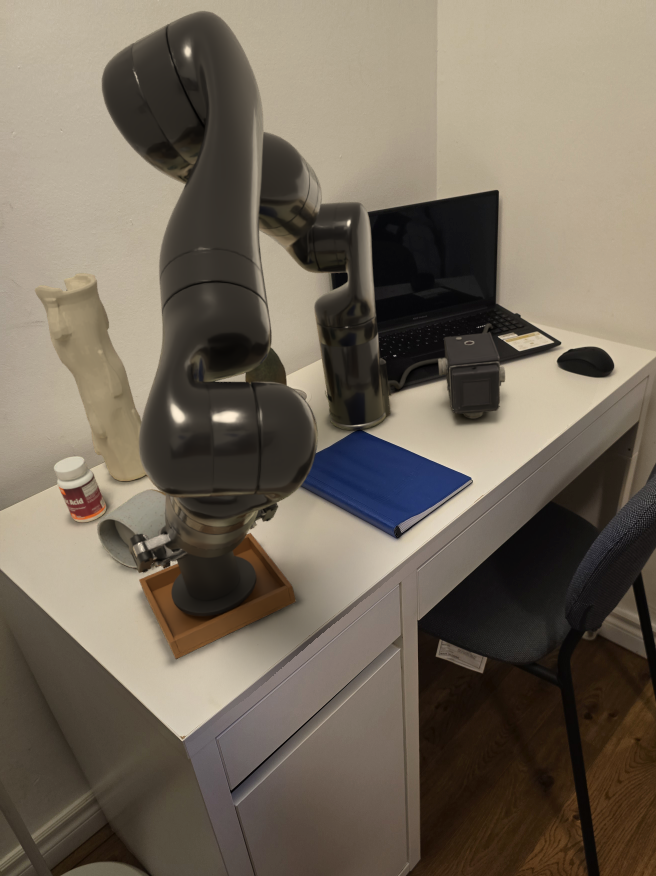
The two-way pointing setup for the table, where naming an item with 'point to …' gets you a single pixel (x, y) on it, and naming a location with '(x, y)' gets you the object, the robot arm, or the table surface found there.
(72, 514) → the pill bottle
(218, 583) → the flanged dark cylinder
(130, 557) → the ceramic mug
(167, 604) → the tray
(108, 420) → the vase
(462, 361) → the camera
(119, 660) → the table surface
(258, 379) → the decorative stone
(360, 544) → the table surface
